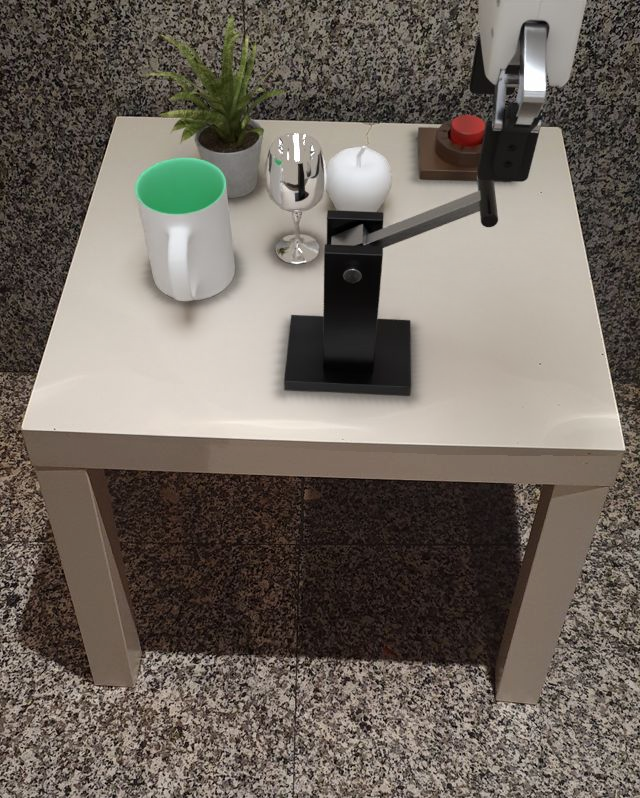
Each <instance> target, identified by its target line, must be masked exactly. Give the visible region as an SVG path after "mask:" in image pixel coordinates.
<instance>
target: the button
mask: <svg viewBox="0 0 640 798" xmlns="http://www.w3.org/2000/svg"><path fill="white" fill-rule="evenodd" d="M453 119H454V120H453V121H452V125H451V132H450V139H451V141H452V142H453V143H455V144H457V145H460V146H464V147H474V146H477V145H479V144H481V142H482V141H483V135H484V130H485V123H486V122H484V120H483V119H482V118H480V117H478V116H475V115H471V114H462V115H458V116H456V117H454V118H453Z"/></svg>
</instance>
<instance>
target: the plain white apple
mask: <svg viewBox="0 0 640 798" xmlns="http://www.w3.org/2000/svg"><path fill="white" fill-rule="evenodd" d="M326 173H327V184H326V189H325V192H326V194H327V196H328V197H329V199H330V200H331V202H332V205H333V206H334V208H335V209H336V210H338V211H363V212H378V210H379V209H380V208H381V207H382V205H383V204H384V202H385V201H386V199H387V198H388V196H389V194H390V191H391V188H392V186H393V185H392V184H393V174H392V173H393V172H392V168H391V166H390V163H389V162H388V160H387V159H386V157H385V156H384V155H383V154H381V153H379V152H378V151H375V150H373V149H371V148H369V147H367V146H366V145H362V146H355V147H348V148H344V149H342V150H340V151H338V152H337V153H336V154H334V156H332V158H331V159H330V160H329V161H328V163H326Z"/></svg>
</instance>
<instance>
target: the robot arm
mask: <svg viewBox="0 0 640 798" xmlns="http://www.w3.org/2000/svg"><path fill="white" fill-rule="evenodd" d="M587 1H588V0H478V7H477V8H478V12H477V13H478V26H479V27H478V28H479V35H477V36H476V41H475V46H474V47H475V48H474V54H473V59H472V66H471V71H470V78H469V85H468V86H469V87H468V88H469V92H470V94H474V95H493V106H492V114H491V120H486V122H485V123H486V127H485V132H484V137H483V142H482V148H481V153H480V158H479V163H478V168H477V174H478V178H479V179H481V180H493V181H494V182H515V183H516V182H518V183H519V182H520V183H521V182H523V183H524V182H525V181H527V180H528V179H529V175H530V172H531V167H532V163H533V159H534V155H535V151H536V149H537V143H538V140H539V135H540V131H541V128H542V120H543V112H544V104H545V101H546V96H547V80H548V86H549V87H551V86H552V87H553V86H554V87H556V88H559V89H560V88H562V87H564V86H565V85H566V84H567V83H568V81H570V77H571V73H572V69H573V64H574V60H575V55H576V51H577V46H578V42H579V37H580V33H581V29H582V24H583V20H584V14H585V11H586V5H587ZM516 88H517V89H518V90H517V93H516V97H515V99H516V101H515V102H512V101H511V102H509V104H507V106H506V99H507V96H511V95H513V94H514V93H515V92H516Z"/></svg>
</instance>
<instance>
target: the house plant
mask: <svg viewBox="0 0 640 798" xmlns="http://www.w3.org/2000/svg"><path fill="white" fill-rule="evenodd" d="M234 22H235V17H234V13H231V15H230V17H229V19H228V21H227V24H226V27H225V32H224V37H223V38H224V40H223V44H222V45H223V46H222V54H221V61H222V64H221V68H220V69H221V71H220V77H219V79H218V77H217V76H216V74H215V73H214V72H213V71H212V70H211V69H210V68H209V67H207V66H206V65H205V64H204V62H203V60H202V57H201V56H200V55H199V54H198V52H197V51H196V50H195V49H193V48H192V47H191V46H189V44H186V43H183V42H179V41H177V40H175V39H174V38H171V37H170V36H168V35H165V34H164V35H163V34H160V33H158V35H159V36H161V37H163V38H164V39H166V40H167V41H169V42H170V43H171V44H173V45H174V46H175V47H176V49H178V50H179V51H180V52H181V53H182V55H183V56H184V57H185V60H187V62H188V64H189V65H190V67H191V70H192V71H193V72H194V73H195V75H196V76H197V78H198V79H199V80H200V82H201V84H202V85H203V87H204V88H205V90H206V91H207V93H206V92H205V91H204V90H203V89H202V88H201V87H200V86H199V85H197V84H196V83H194V82H193V81H191V80H190V79H189V78H187V77H186V76H184V75H182V74H179V73H176V72H173V71H158V72H156V71H155V72H148V73H145V74H144V76H166V78H160V79H158V81H163V80H166V81H167V80H170V81H175V82H177V84H178V85H180V87H181V88H182V89H183V90H184V91H180V92H177V93H175V94H174V95H172V97H171V98H170V99H169V102H170V101H190V102H192V103H193V104H194V105H195V106H196V107H197V108H198V109H176V110H175V109H174V110H170V111H165V112H162V113H160V114H158V115H156V117H158V116H160V117H162V119H167V118H177V119H179V120H177V121H176V122H175V124H174V125H173V127H172V129H171V131H170V134H169V135H171V134H172V133H173V132H175V131H178V130H182V129H183V131H182V134H181V137H180V138H181V139H180V143H179V144H180V146H181V145H182V143H183V142H184V141H186V140H188V139H190V138H192V137H194V142H195V145H196V148H197V151H198V155H199V157H200V160H204V161H207V162H209V163H211V164H213V165H215V166H216V167H218V168H219V169H220V170H221V171H222V173H223V174H224V176H225V179H226V187H227V197H228V199H237V198H242V197H245V196H247V195H249V194H251V193H252V192H253V191H255V189H256V187H257V185H258V178H259V169H260V161H261V160H260V159H261V152H262V142H263V140H264V132H265V129H264V128H263V127H261V125H260V124H259V123H258V121H256V120H255V119H253V118H252V117H251V115H250V114H251V112H252V111H253V110H254V108H255V107H256V106H257V105H258V104H260V103H261V102H263V101H265V100H267V99H268V98H271V97H275V96H276V95H286V93H285V92H284V91H282V90H281V89H279V90H278V89H273V90H269V91H267V92H266V90H265V89H264V88H263V87H259V86H260V85H261V84H262V83H263V82H264V80H265V79H266V78H267V77H268V76H269V75H270V74H271V73H272V72H273V71H274V70H275V69H276V67H274V68H273V69H272V70H270V71H268V72H267V74H265V76H264V77H263V79H262V80H261V81H260V82H258V84H257V85H256V86H255V87H254V88H253V90H252V91H250V92H249V93H247V90H248V86H249V82H250V78H251V76H252V72H253V69H254V65H255V61H256V53H257V43H258V41H257V38H256V39H255V41H254V44H253V46H252V50H251V52H250V54H249V35H248V33H246V36H245V39H244V44H243V47H242V51H241V56H240V57H241V58H240V63H239V67H238V71H237V73H236V74H234V73H233V62H234V61H233V60H234V59H233V58H234V48H235V44H236V41H237V39H238V38H239V37H240V35H241V32H242V30H240V31H238V32H237V33H235V25H234ZM248 55H249V57H248ZM195 59H196V60H195ZM279 66H280V65H279V64H278V65H277V67H279ZM168 77H169V78H168ZM187 83H188V84H190V85H191V86H192V87H194V88H195V89H197V90H198V91H199V92H197V91H193V90H192V88H191V87H190V85H188V84H187ZM255 92H264V94H262V95H260V96H259V97H258V98H257V99H256V100H255V101H254V102H253V103H252V104H251V105H250V106H249V108H248V110H247V112H246V113H245V110H246V108H247V107H248V105H249V103H250V101H251V100H252V97H253V96H254V94H255ZM197 95H198V96H197ZM199 96H200V97H201V98H202V99H201V98H200V97H199ZM203 99H204V100H205V101H206V102H207V103H208V104H209V105H207V103H206V102H204V101H203ZM209 106H210V107H211V108H212V109H211V108H210V107H209ZM244 113H245V114H244ZM243 114H244V115H243Z"/></svg>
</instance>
